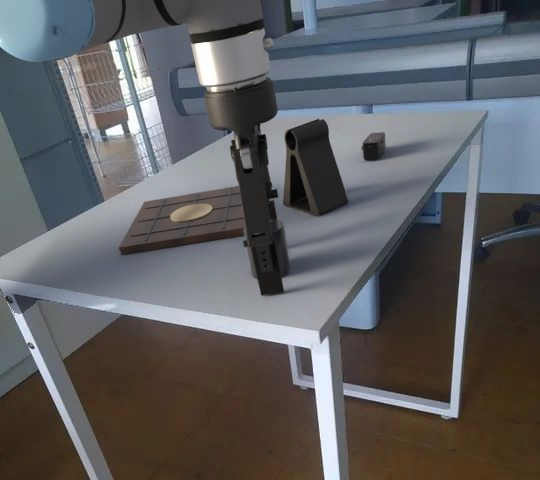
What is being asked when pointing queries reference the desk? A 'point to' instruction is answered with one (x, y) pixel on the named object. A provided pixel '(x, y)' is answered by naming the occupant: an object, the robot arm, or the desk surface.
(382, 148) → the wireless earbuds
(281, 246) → the dark grey canister
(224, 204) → the grid board
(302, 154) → the black triangular stand
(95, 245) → the desk surface
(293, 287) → the desk surface
